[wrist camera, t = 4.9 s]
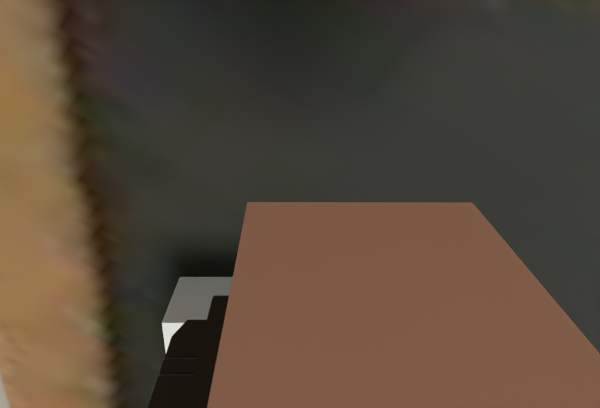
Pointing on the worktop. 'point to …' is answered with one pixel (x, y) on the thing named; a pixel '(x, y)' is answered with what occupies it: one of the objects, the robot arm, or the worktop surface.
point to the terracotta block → (392, 314)
